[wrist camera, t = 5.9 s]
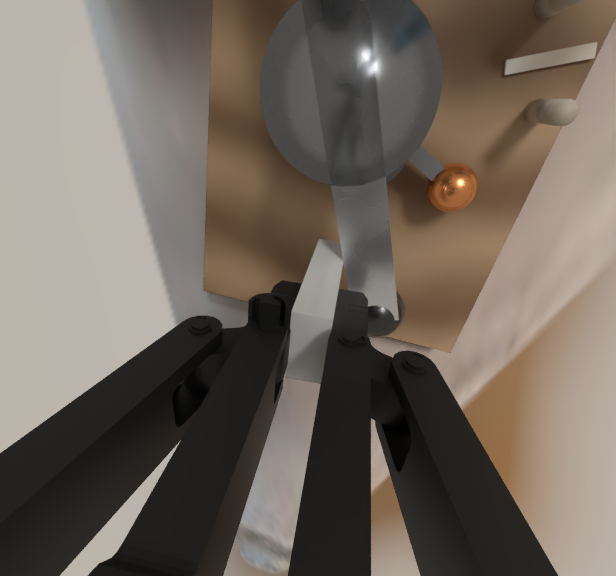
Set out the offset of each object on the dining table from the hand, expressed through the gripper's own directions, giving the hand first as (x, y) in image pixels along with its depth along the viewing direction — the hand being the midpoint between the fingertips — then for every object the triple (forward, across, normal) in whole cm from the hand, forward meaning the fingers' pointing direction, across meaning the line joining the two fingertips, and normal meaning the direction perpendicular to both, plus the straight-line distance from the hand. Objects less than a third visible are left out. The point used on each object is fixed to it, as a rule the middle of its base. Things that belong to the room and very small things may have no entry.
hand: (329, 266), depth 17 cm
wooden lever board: (+7, +1, +4) cm, 8 cm away
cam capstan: (+5, +1, +8) cm, 9 cm away
